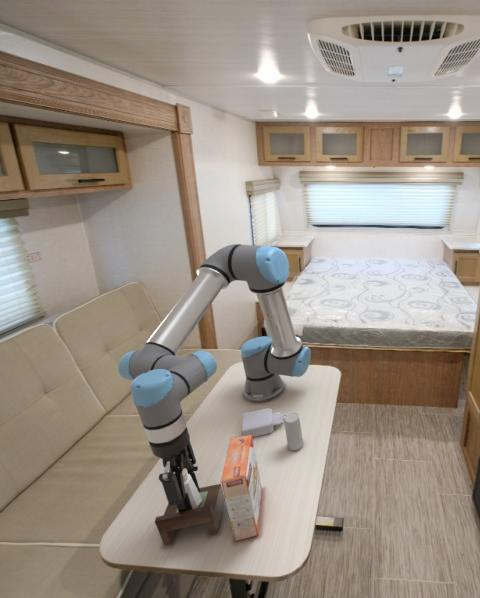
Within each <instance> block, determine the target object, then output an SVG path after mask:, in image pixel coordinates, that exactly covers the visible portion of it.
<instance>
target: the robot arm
mask: <svg viewBox="0 0 480 598" xmlns="http://www.w3.org/2000/svg"><path fill="white" fill-rule="evenodd" d="M289 262H290V261H289V259H288V257H287V254H286V253H285V252H284V251H283V250H282V249H281V248H279V247H277V246H271V245H265V244H264V245H254V244H240V243H233V244H229V245H226V246H223V247H222V248H220V249H218V250H216V251H215V252H214V253H213V254H211V255H209V257H208V258H206V259H205V260H204V261H203V262H202V264H201V265H200V266H199V267H198V269H197V270H196V275H197V276H196V277H195V279H194V280H193V281H192V283H191V284H190V285H189V286H188V288H187V289H186V290H185V292H184V293H183V294H182V296H181V297H180V298H179V299H178V301H177V302H176V303H175V304H174V306H173V307H172V308H171V310H170V311H169V312H168V314H167V315H166V316H165V318H164V319H163V320H162V321H161V323H160V324H159V325H158V326H157V328H156V329H155V330H154V331H153V333H152V334H151V335H150V337H149V338H148V340H147V341H146V342H145V343H144V345H143V346H142V347H141V349H139V350H138V349H137V350H131V351H129V352H127V353H125V354H124V355H123V356H122V357H121V358H120V360H119V362H118V364H117V365H118V366H117V369H118V373H119V375H120V376H121V377H122V378H123V379H125V380H129V381H132V382H131V383H130V391H131V396H132V400H133V401H132V402H133V403H134V406H135V408H136V410H137V413H138V415H139V418H140V421H141V424H142V429H144V431H145V434H146V437H147V439H148V444H149V447H150V449H151V452H152V454H153V456H155V457H157V458H160V459H161V460H162V466H163V468H164V470H163V473H159V475H158V480H159V482H160V483H161V485H162V487H163V490H164V493H165V496H166V500H167V504H168V503H169V506H172V505H177V508H178V511H179V512H182V511H186V510H191V509H193V508H192V505H191V502H190V499H189V496H188V493H185V487H184V481H183V474H182V471H183V469H184V468H185V469H187V472H188V474H190V476H191V477H192V479H193V481H194V483H195V485H196V487H197V490H198V492H200V489H199V488H200V486H199V482H198V479H197V476H196V473H195V472H197V471H198V470H199V466H197V465H196V464H197V458H196V456H195V452H194V450H193V445H192V443H191V437H190V433H189V429H188V427H187V422H186V419H185V416H184V413H183V410H182V405H181V402H182V401H184V399H186V398H187V397H188V396H189V395H190V394H191V393H193V392H194V391H196V390H197V389H198V388H199V387H201V386H202V385H203V384H204V383H206V382H208V380H209V379H210V378H211V377H212V376H213V375H214V374H215V373H216V372H217V369H218V363H217V361H216V358H215V357H214V356H213V355H212V354H211V353H209V352H208V351H206V350H196V351H194V352H192V353H190V354H189V355H188V356H182V355H177V354H178V353H179V351H180V349H181V348H182V347H183V346H184V344H185V342H186V341H187V340H188V338H189V336H191V334H192V332H193V331H194V330H195V328H196V326H197V325H198V324H199V322H200V321H201V319H202V318H203V317H204V315H205V313H206V312H207V311H208V309H210V306H212V303H213V302H214V301H215V299H216V298H217V296H218V295H219V293H221V291H222V290H225V289H227V288H228V287H229V285H230V284H231V283H232V282H235V281H240V282H246V283H247V287H248V289H249V291H250V292H251V293H253V294H255V295H256V298H257V301H258V304H259V308H260V310H261V313H262V316H263V319H264V322H265V325H266V328H267V331H268V334H269V336H266V335H264V336H258V337H254V338H251V339H249V340H247V341H246V342H244V343H243V344H242V346H241V348H240V353H241V355H240V356H241V360H242V364H243V365H242V366H243V369H244V370H243V371H244V375H245V381H244V387H243V394H244V398H245V400H247V401H249V402H253V403H262V402H264V403H265V402H267V401H268V402H269V401H271V400H273V399H275V398H277V397H278V396H280V395H281V393H282V392H283V391H284V388H285V387H284V385H285V384H284V381H283V379H282V377H281V376H285V377H292V378H293V377H296V378H300V377H302V376H304V375H305V373H306V372H307V371H308V369H309V366H310V362H311V360H312V359H311V358H312V350H311V348H310V347H308V346H303V342H302V339H301V338H300V337H298V336H296V332H295V328H294V324H293V321H292V317H291V314H290V310H289V306H288V303H287V299H286V295H285V291H284V288H283V287H284V286H285V284H286V282H287V280H288V278H289V275H290V270H289V269H290V263H289ZM195 465H196V466H195Z"/></svg>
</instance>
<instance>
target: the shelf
mask: <svg viewBox="0 0 480 598" xmlns="http://www.w3.org/2000/svg"><path fill="white" fill-rule="evenodd" d="M199 489H200V492H199V494H200V496H201V498H202V501H201V503H200V504H199V506H198V508H195V509H191V510H186V511H182V512H179V511H178V508H177V505H172V506H169V503H168V502H167V506H166V508H165V509H164V513H163V515H159V516H156V517H155V519H154V525H155V526H156V528H157V532H158V533H159V536H160V539H161V542H162V544H163V546H164V547H165V546H170V545H172V544H173V541H174V537H175V534H176V532H177V530H179V529H183V528H189V527H193V526H197V525H201V524H206V526H207V529H208V533H209V535H210V536H212V535H217V534H218V531H219V527H220V523H221V518H222V513H223V509H224V504H225V502H226V501H225V497H224V493H223V489H222V485H221V483H218V484H213V485H208V486H203V487H199Z"/></svg>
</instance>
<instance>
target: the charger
mask: <svg viewBox="0 0 480 598" xmlns="http://www.w3.org/2000/svg"><path fill="white" fill-rule="evenodd" d="M287 414H288V413H286V414H283V412H276V413H274V411H273V409H272V408H270V407H268V408H263V409H258V410H253V411H248V412H244V413H242V423H241V433H242V436H247V435H252V436H253V438H255V437H260V436H263V435H264V436H265V435H268V434H272V432H273V431H275V430H274V429H275V427H274V426H278V425H281V424H283V423H284V418H285V416H286V415H287Z"/></svg>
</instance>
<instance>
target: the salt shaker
mask: <svg viewBox="0 0 480 598" xmlns="http://www.w3.org/2000/svg"><path fill="white" fill-rule="evenodd" d="M182 474H183V481H184V487H185V493H188V496H189V499H190V502H191V505H192V508H193V509H195V508H198V506H199V504H200V503H201V501H202V498H201V496H200V494H199V492H198V490H197V487H196V485H195V483H194V481H193V479H192V477H191V476H190V474H188V472H187V469H185V468H184V469H183V471H182Z"/></svg>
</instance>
